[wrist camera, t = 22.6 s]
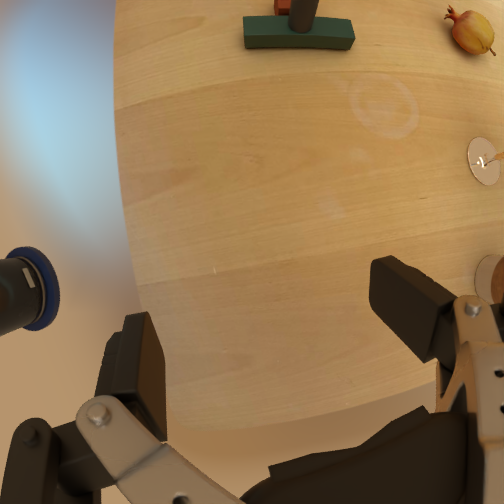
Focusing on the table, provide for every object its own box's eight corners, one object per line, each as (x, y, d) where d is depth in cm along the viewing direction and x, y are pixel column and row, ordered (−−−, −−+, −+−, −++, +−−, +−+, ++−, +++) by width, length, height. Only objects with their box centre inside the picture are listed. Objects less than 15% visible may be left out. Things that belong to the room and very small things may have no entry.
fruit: (509, 36, 22) (458, -11, 22) (513, 54, 21) (456, 1, 21) (485, 57, 29) (436, 15, 29) (484, 77, 28) (431, 30, 27)
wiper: (245, 51, 29) (239, -18, 17) (244, 32, 29) (238, -37, 17) (348, 53, 29) (380, -9, 17) (343, 34, 29) (371, -28, 17)
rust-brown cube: (276, 28, 29) (278, 8, 25) (274, 6, 29) (275, -14, 25) (310, 28, 29) (315, 9, 25) (305, 7, 29) (309, -13, 25)
